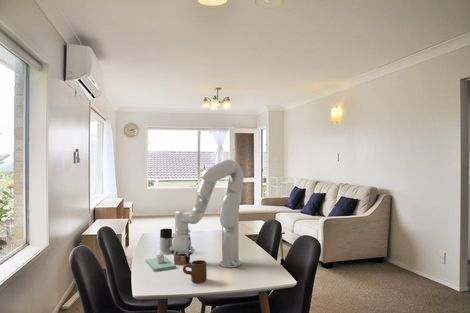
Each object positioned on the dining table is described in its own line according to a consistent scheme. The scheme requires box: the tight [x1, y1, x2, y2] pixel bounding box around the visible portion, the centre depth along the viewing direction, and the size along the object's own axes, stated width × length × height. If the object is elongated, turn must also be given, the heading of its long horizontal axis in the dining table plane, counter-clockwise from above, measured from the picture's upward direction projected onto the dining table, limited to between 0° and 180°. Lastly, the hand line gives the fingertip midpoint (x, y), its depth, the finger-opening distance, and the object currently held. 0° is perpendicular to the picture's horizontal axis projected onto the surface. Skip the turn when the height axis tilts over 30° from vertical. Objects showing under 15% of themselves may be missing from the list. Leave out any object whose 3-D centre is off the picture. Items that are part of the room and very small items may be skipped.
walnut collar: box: [173, 252, 187, 266], centre depth 204 cm, size 6×6×5 cm
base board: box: [145, 256, 176, 272], centre depth 202 cm, size 20×12×2 cm, turn 27°
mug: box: [182, 259, 208, 284], centre depth 174 cm, size 12×8×9 cm, turn 112°
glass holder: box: [159, 228, 175, 256], centre depth 227 cm, size 9×14×15 cm, turn 64°
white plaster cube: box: [155, 254, 165, 264], centre depth 202 cm, size 4×4×4 cm
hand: (182, 262), depth 204 cm, fingers open, 6 cm apart
